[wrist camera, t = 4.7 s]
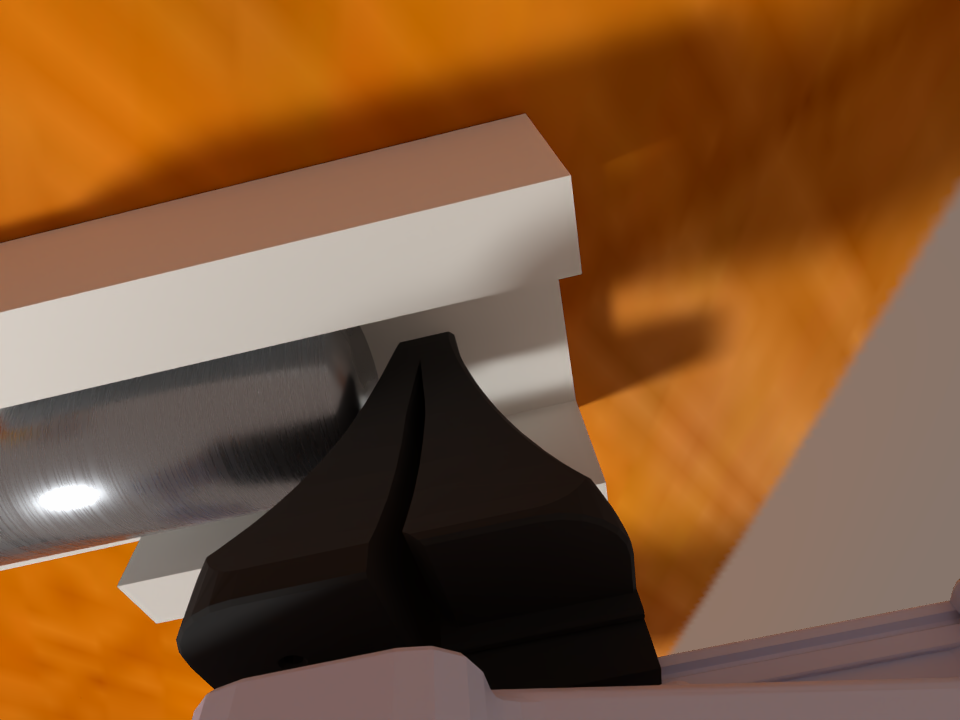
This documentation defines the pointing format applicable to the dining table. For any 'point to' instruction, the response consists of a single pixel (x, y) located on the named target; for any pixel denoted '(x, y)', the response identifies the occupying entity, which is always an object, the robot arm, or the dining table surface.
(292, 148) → the dining table surface
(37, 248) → the white channel tray
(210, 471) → the axle
